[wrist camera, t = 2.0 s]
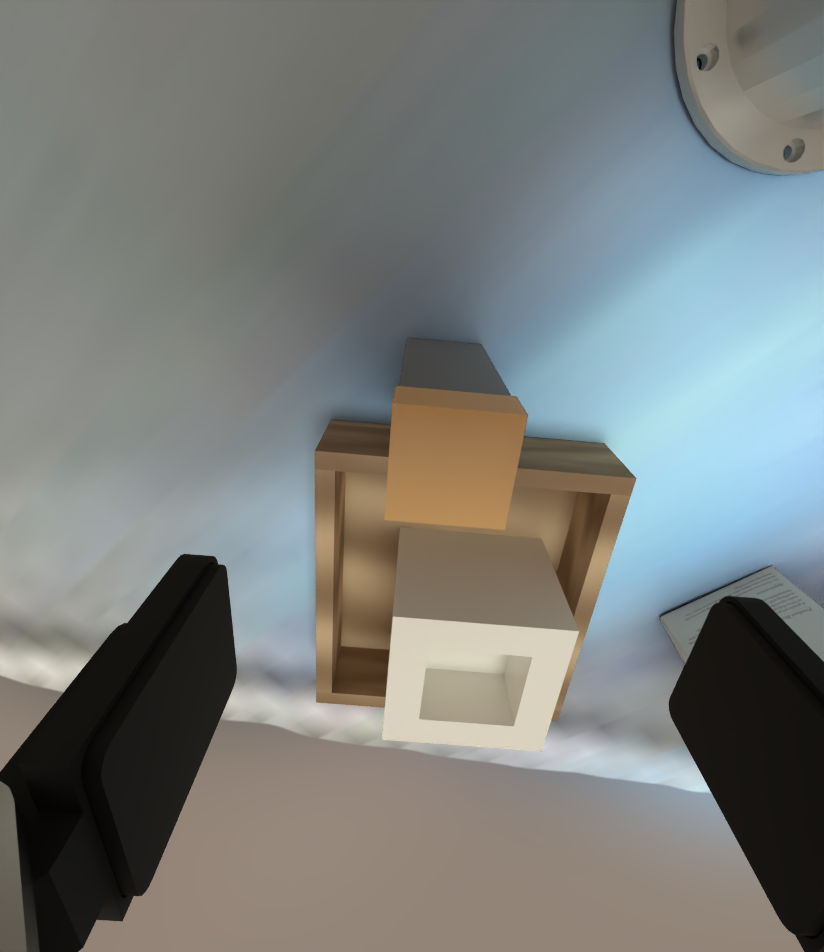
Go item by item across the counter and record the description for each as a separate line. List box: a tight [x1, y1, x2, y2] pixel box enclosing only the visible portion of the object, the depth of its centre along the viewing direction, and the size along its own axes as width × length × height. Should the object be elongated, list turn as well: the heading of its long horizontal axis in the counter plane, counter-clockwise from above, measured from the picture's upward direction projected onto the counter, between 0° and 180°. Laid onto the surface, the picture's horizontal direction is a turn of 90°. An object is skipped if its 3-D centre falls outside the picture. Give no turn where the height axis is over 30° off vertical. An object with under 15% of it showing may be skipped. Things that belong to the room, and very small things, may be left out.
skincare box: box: [660, 566, 824, 664], centre depth 26 cm, size 8×7×16 cm
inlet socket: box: [382, 527, 579, 751], centre depth 28 cm, size 9×9×8 cm
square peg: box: [384, 338, 528, 530], centre depth 21 cm, size 4×4×12 cm
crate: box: [315, 420, 636, 721], centre depth 30 cm, size 18×16×5 cm
